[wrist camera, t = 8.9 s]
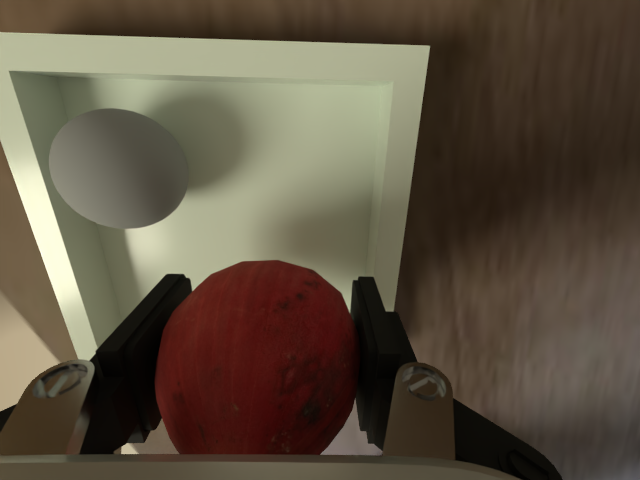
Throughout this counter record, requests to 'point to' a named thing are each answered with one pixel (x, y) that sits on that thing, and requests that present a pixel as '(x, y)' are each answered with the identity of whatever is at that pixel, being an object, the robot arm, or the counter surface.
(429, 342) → the counter surface
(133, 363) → the robot arm
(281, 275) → the onion
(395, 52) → the dish
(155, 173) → the ball
